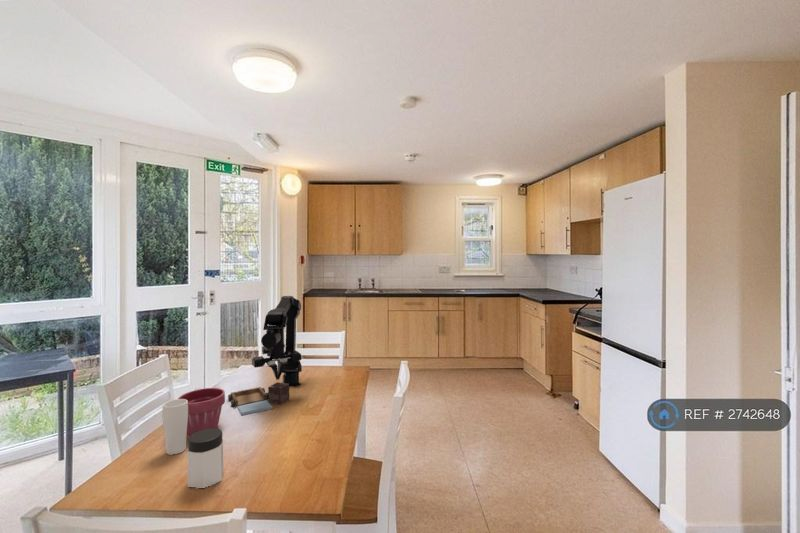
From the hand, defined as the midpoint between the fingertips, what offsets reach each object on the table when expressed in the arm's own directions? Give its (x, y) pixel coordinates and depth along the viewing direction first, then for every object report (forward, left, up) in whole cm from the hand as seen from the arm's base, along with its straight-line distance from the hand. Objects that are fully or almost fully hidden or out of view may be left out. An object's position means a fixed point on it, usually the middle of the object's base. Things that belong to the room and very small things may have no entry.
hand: (277, 379), depth 150 cm
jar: (+31, +43, -10) cm, 54 cm away
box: (0, 0, -10) cm, 10 cm away
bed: (+10, -9, -10) cm, 16 cm away
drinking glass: (+37, +21, -10) cm, 43 cm away
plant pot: (+29, +11, -10) cm, 32 cm away
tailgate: (+10, +2, -9) cm, 13 cm away
